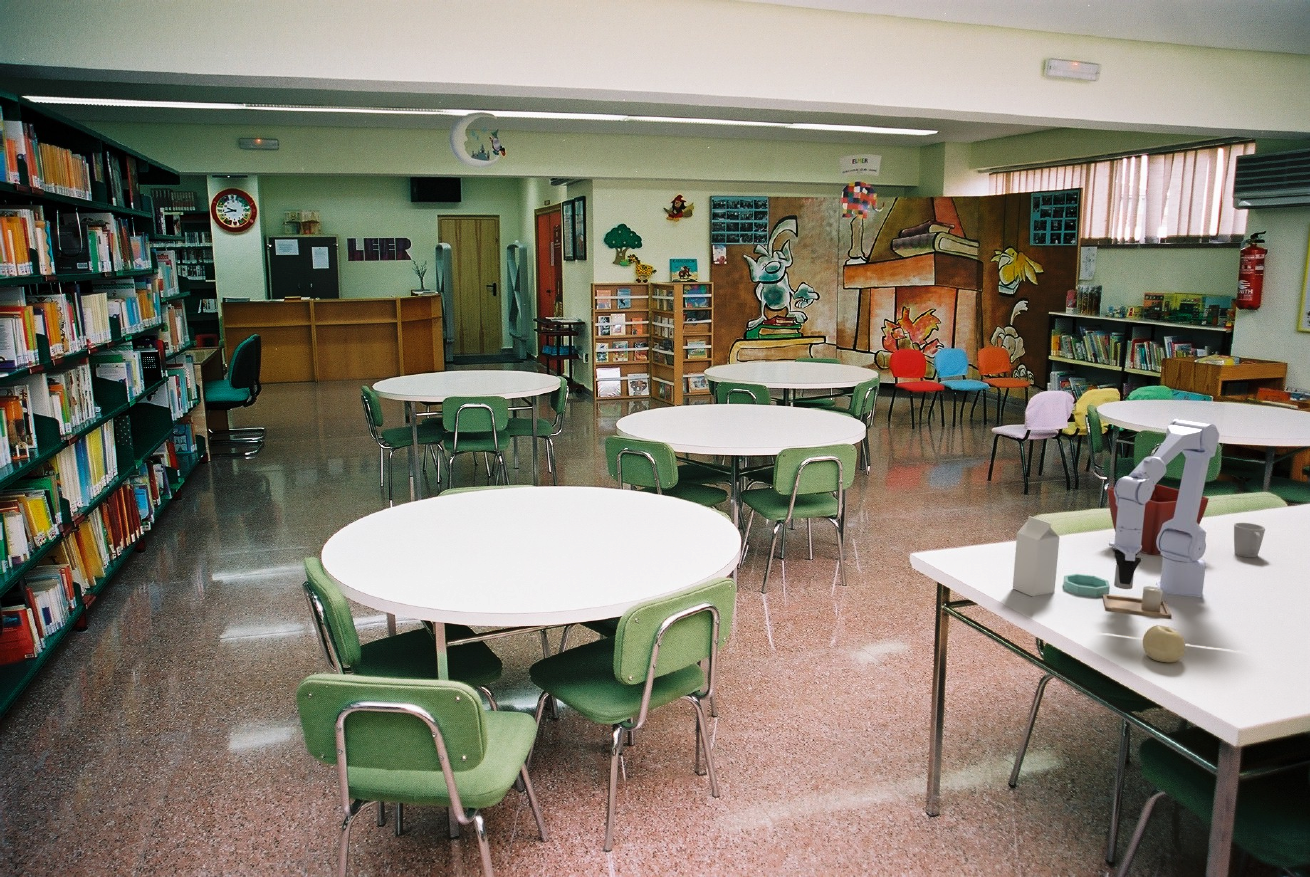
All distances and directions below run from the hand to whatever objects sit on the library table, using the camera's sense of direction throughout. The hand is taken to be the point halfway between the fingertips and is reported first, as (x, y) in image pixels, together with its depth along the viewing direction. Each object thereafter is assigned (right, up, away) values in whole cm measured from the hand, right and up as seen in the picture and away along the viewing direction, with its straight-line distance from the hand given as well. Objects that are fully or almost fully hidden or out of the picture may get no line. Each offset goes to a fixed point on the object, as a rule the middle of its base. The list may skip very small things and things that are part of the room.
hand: (1123, 580), depth 225 cm
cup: (+57, 0, +42) cm, 71 cm away
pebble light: (+6, -7, -1) cm, 9 cm away
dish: (-4, -5, +12) cm, 14 cm away
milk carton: (-17, -5, +12) cm, 21 cm away
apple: (-6, -13, -28) cm, 31 cm away
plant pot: (+33, +2, +49) cm, 59 cm away
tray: (+3, -7, 0) cm, 7 cm away
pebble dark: (0, -1, 0) cm, 2 cm away
